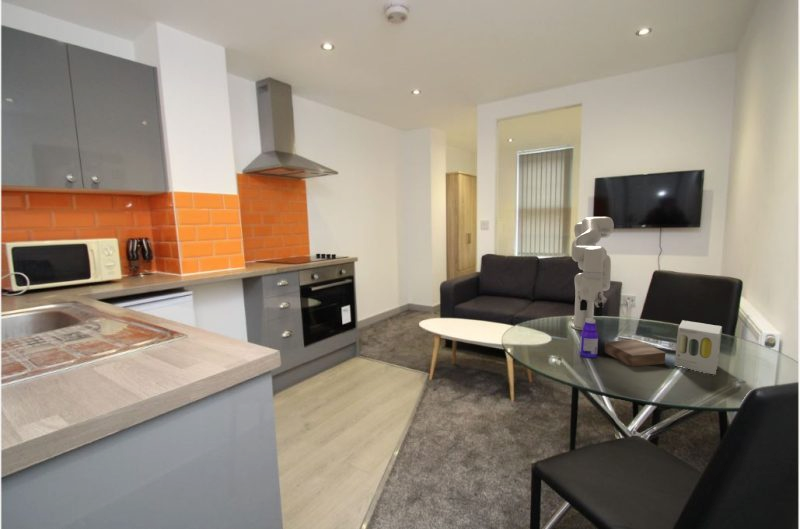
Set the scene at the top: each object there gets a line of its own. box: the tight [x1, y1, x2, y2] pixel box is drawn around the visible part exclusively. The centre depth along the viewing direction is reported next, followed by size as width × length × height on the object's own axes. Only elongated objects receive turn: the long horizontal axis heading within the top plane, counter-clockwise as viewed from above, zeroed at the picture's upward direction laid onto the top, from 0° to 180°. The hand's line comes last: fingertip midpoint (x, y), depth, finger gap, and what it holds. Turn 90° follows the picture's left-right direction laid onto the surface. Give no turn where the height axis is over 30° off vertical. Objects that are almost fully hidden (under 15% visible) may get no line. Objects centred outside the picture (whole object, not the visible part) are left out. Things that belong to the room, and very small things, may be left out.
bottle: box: [579, 318, 599, 359], centre depth 160 cm, size 7×6×17 cm
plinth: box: [604, 339, 666, 368], centre depth 158 cm, size 16×16×5 cm
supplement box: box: [674, 319, 723, 375], centre depth 147 cm, size 13×13×18 cm
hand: (590, 312), depth 158 cm, fingers open, 9 cm apart
